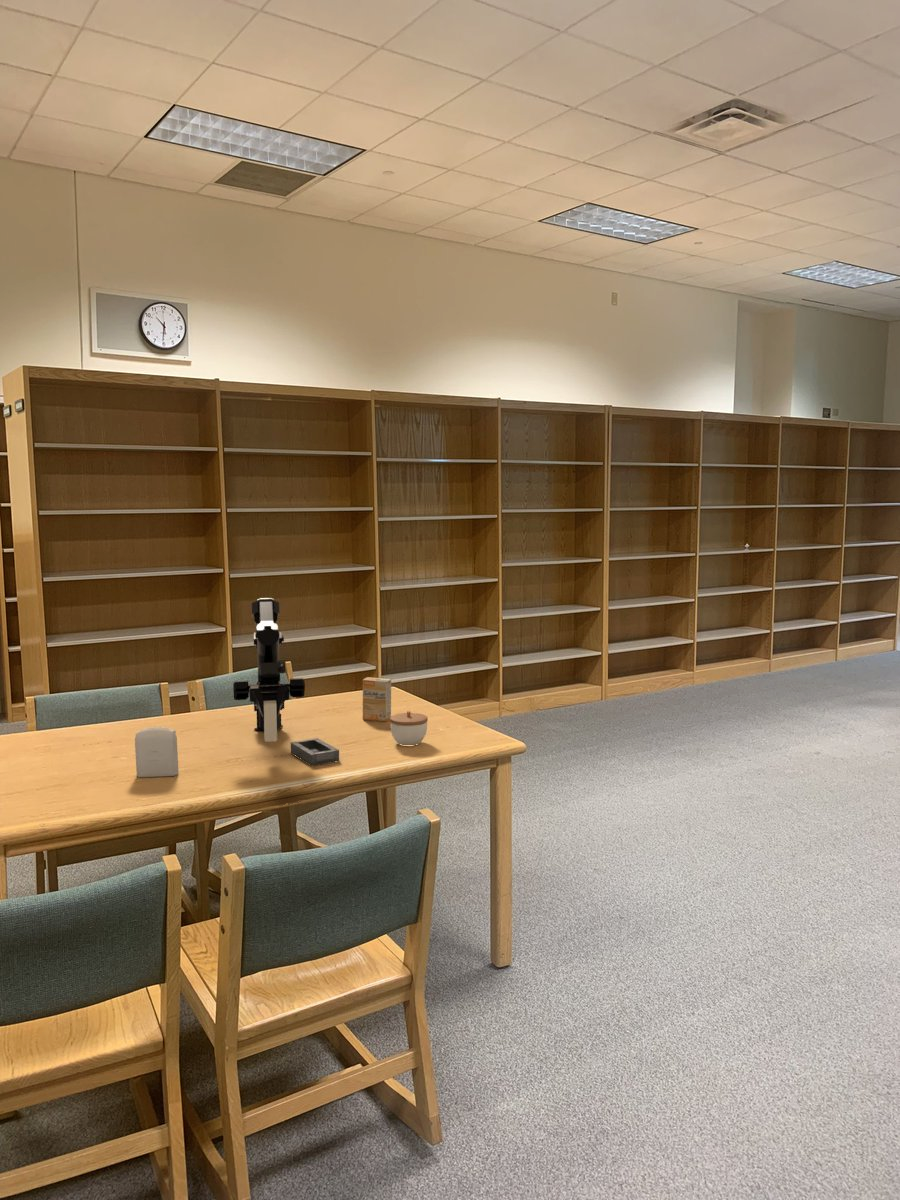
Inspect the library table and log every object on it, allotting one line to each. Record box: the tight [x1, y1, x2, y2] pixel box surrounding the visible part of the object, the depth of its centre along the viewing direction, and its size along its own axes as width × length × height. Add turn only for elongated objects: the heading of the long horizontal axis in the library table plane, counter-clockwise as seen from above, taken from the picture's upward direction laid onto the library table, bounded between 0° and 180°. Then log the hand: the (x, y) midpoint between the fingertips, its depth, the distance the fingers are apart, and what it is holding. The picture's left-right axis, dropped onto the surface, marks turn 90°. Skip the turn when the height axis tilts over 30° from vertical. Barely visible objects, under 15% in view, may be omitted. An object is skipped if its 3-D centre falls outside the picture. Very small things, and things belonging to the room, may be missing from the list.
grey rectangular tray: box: [289, 737, 340, 767], centre depth 235 cm, size 14×8×3 cm, turn 33°
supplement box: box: [362, 676, 392, 722], centre depth 274 cm, size 8×5×13 cm, turn 73°
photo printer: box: [134, 726, 179, 778], centre depth 218 cm, size 10×4×12 cm, turn 96°
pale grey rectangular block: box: [263, 700, 278, 742], centre depth 229 cm, size 4×3×10 cm
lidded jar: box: [389, 711, 429, 745], centre depth 247 cm, size 11×11×9 cm
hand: (270, 716), depth 228 cm, fingers closed on pale grey rectangular block, 3 cm apart
